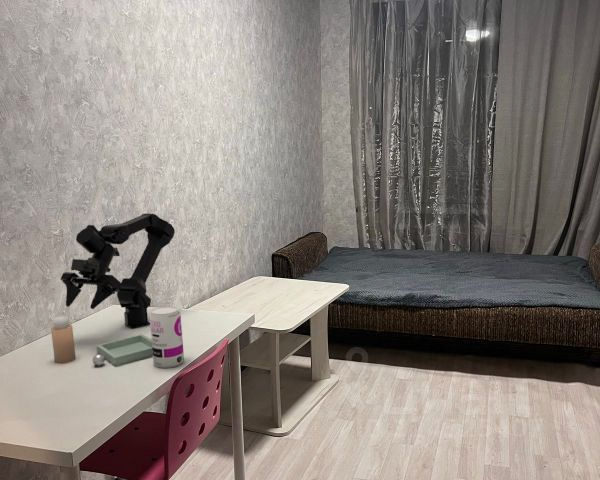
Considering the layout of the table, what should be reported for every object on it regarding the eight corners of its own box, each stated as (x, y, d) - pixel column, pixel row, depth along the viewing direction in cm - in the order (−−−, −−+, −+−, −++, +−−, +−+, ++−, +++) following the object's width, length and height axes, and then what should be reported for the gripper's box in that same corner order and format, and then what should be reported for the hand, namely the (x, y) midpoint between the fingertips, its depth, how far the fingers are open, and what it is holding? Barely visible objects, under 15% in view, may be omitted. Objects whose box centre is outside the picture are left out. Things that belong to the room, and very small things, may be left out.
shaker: (72, 354, 176) (67, 313, 174) (78, 359, 172) (73, 317, 170) (52, 359, 173) (47, 317, 171) (58, 364, 169) (53, 321, 167)
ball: (102, 362, 169) (101, 351, 169) (107, 365, 167) (106, 354, 166) (91, 365, 167) (90, 354, 167) (95, 368, 165) (94, 357, 164)
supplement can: (187, 357, 170) (183, 305, 168) (179, 368, 162) (174, 314, 159) (159, 357, 171) (155, 306, 168) (149, 369, 163) (144, 314, 160)
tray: (142, 342, 185) (142, 334, 184) (163, 353, 174) (162, 345, 174) (97, 353, 176) (96, 345, 176) (115, 366, 166) (114, 357, 165)
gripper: (60, 246, 183) (37, 292, 175) (110, 248, 176) (87, 296, 168) (82, 265, 192) (61, 309, 184) (130, 268, 184) (110, 314, 177)
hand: (79, 307), depth 178 cm, fingers open, 9 cm apart
